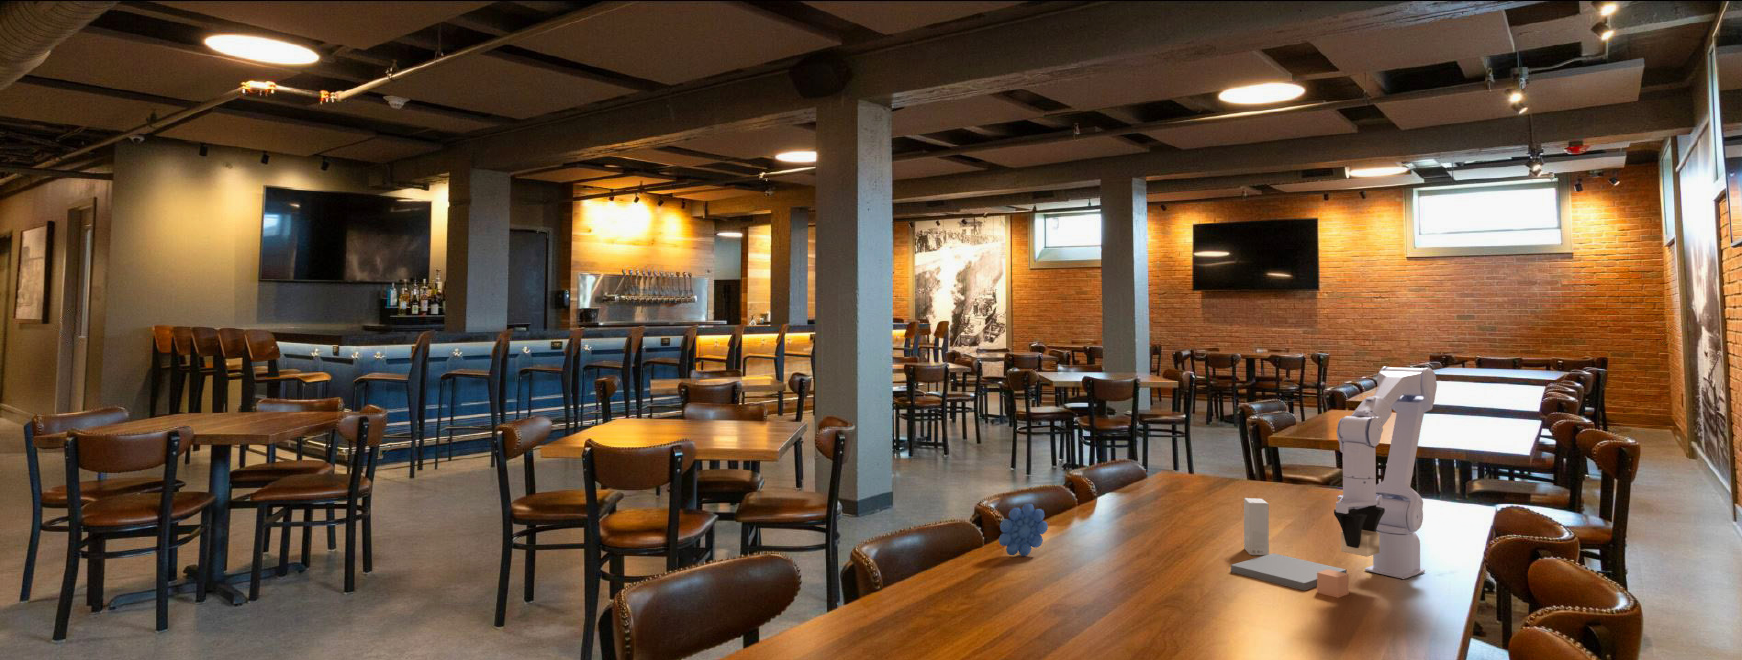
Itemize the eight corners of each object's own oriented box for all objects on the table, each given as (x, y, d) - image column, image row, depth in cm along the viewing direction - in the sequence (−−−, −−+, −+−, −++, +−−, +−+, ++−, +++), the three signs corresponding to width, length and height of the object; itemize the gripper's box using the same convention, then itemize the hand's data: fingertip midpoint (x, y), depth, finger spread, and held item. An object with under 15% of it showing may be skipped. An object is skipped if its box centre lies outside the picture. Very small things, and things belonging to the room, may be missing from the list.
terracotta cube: (1328, 589, 170) (1327, 569, 170) (1348, 594, 167) (1348, 573, 167) (1317, 592, 168) (1317, 572, 168) (1337, 598, 165) (1337, 577, 165)
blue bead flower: (1041, 550, 202) (1041, 499, 202) (1051, 557, 195) (1051, 504, 195) (993, 552, 200) (993, 500, 200) (1002, 559, 194) (1001, 506, 194)
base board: (1273, 559, 191) (1273, 553, 191) (1346, 576, 178) (1346, 569, 178) (1230, 571, 182) (1230, 564, 182) (1304, 590, 169) (1304, 583, 169)
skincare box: (1269, 556, 195) (1269, 503, 195) (1249, 555, 195) (1249, 502, 195) (1262, 549, 201) (1262, 498, 200) (1243, 548, 201) (1243, 497, 201)
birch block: (1353, 547, 175) (1353, 528, 175) (1379, 552, 170) (1379, 532, 170) (1341, 551, 172) (1340, 531, 172) (1367, 556, 168) (1367, 536, 168)
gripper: (1356, 470, 179) (1357, 535, 179) (1320, 477, 170) (1320, 546, 170) (1392, 474, 173) (1393, 542, 173) (1356, 482, 165) (1357, 553, 165)
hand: (1359, 544), depth 171 cm, fingers closed on birch block, 5 cm apart
